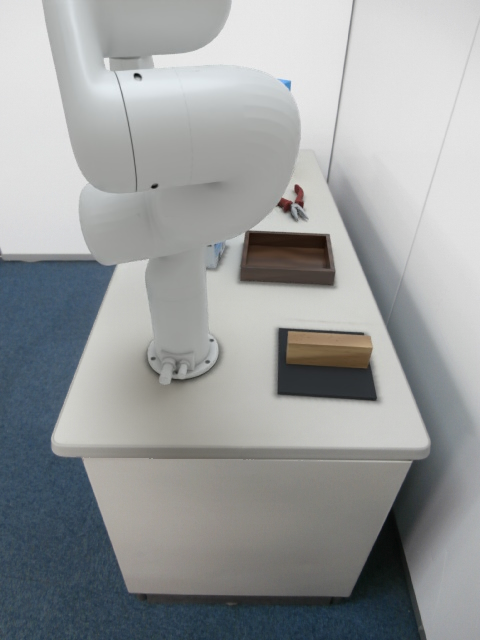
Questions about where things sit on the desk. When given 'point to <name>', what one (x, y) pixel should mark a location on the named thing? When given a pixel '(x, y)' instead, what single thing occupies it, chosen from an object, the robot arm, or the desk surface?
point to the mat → (322, 375)
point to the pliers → (297, 205)
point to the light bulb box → (214, 254)
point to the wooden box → (287, 258)
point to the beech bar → (328, 349)
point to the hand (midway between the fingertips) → (143, 158)
